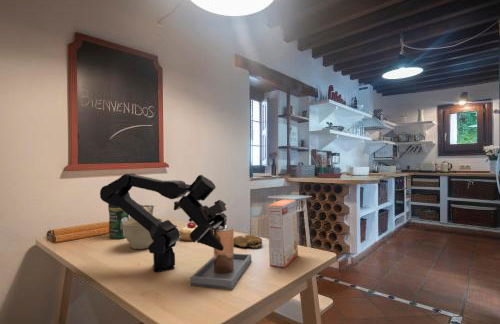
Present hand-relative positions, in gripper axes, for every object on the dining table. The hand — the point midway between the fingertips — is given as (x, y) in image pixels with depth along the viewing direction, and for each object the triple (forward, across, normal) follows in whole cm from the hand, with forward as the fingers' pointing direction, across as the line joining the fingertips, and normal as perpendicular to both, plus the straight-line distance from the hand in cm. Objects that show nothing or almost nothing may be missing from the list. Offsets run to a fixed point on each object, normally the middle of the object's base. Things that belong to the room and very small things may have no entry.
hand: (227, 245), depth 90 cm
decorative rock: (+6, +30, +8) cm, 32 cm away
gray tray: (+5, 0, +7) cm, 9 cm away
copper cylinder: (+5, 0, +7) cm, 8 cm away
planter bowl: (-26, +21, +39) cm, 51 cm away
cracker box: (+18, +14, -5) cm, 23 cm away
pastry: (-15, +35, +28) cm, 47 cm away
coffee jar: (-41, +32, +54) cm, 75 cm away
